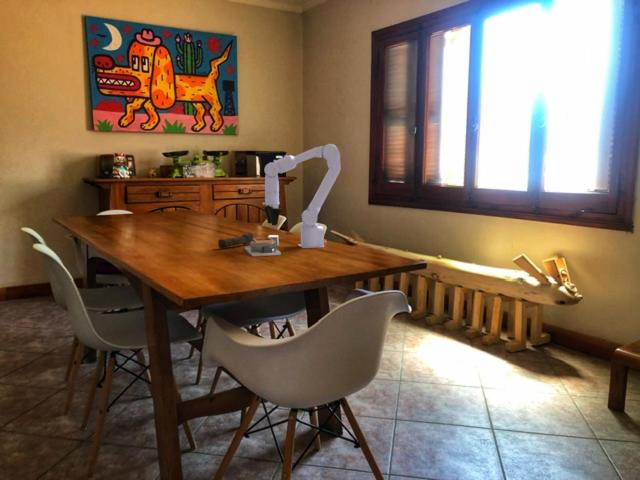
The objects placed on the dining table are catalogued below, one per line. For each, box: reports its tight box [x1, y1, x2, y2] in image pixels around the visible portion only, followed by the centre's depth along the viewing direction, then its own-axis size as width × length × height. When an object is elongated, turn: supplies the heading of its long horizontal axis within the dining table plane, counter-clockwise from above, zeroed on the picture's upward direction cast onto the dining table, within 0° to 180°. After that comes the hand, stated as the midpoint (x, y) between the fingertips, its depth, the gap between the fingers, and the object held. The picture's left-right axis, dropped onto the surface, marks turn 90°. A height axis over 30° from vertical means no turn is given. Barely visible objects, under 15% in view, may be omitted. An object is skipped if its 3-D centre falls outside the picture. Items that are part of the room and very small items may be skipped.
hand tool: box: [217, 232, 255, 249], centre depth 216 cm, size 19×4×5 cm, turn 141°
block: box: [267, 234, 279, 248], centre depth 220 cm, size 4×4×7 cm
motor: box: [244, 237, 282, 257], centre depth 204 cm, size 11×18×5 cm, turn 18°
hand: (272, 224), depth 216 cm, fingers open, 7 cm apart
